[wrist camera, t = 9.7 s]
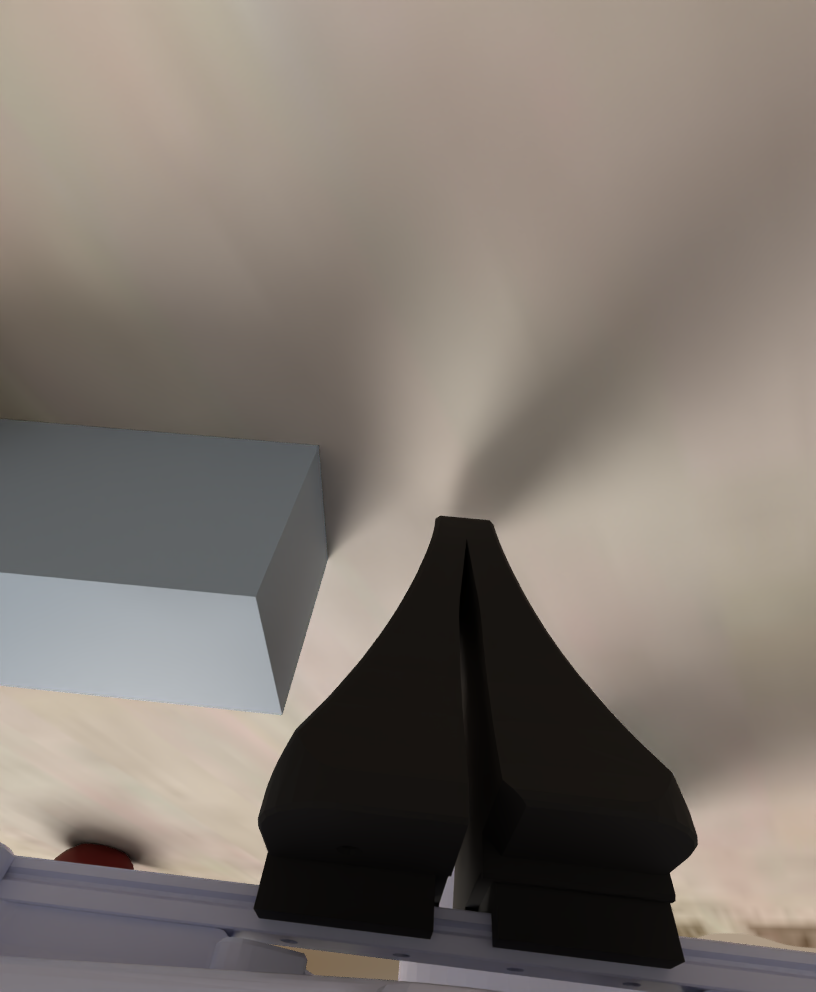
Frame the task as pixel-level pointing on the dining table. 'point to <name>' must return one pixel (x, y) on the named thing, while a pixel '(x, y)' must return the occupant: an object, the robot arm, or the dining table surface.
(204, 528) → the peg
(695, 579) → the dining table surface
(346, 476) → the dining table surface
